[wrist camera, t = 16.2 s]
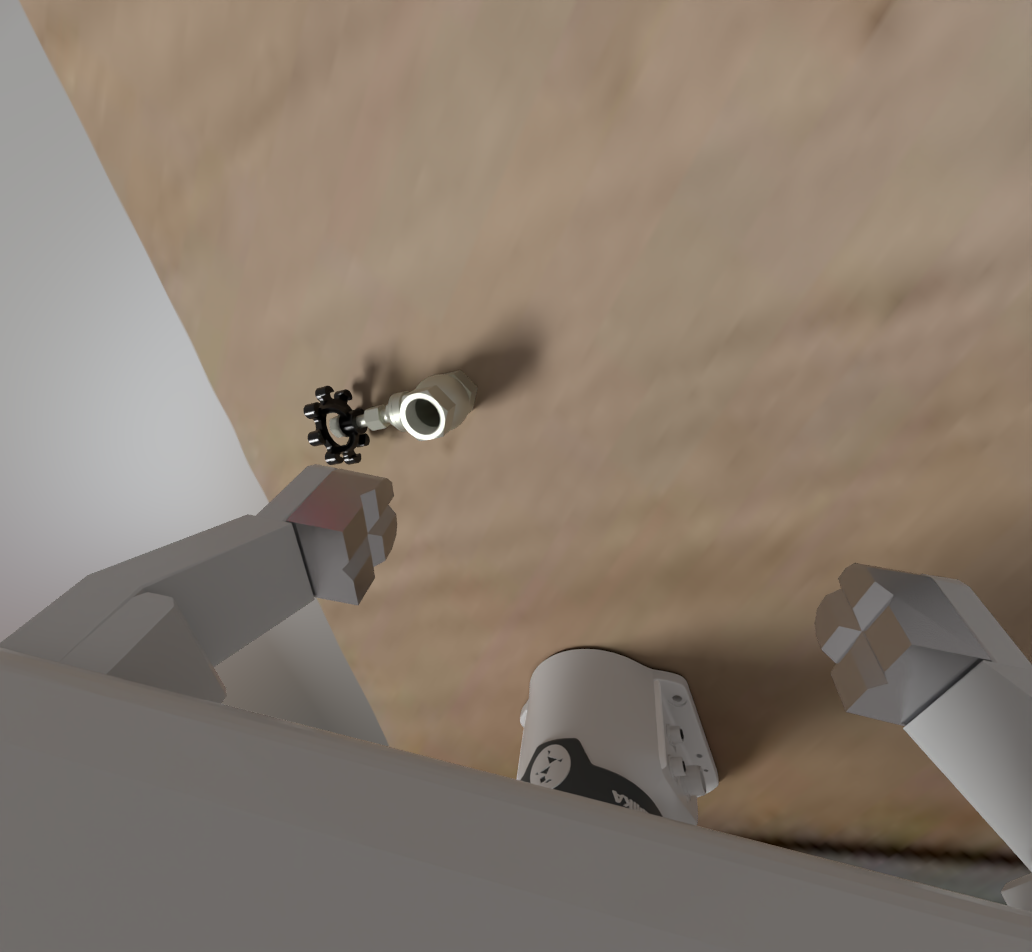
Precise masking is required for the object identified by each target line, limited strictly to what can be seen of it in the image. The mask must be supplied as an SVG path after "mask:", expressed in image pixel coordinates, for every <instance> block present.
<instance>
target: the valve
mask: <svg viewBox="0 0 1032 952" xmlns="http://www.w3.org/2000/svg"><path fill="white" fill-rule="evenodd" d="M331 392H334V390H333V389H332V387H330V386H324V387H321V388H317V389H316V391H315V395H316V398H317V399H318V400H319V401H320V403H318V402H315V403H311V404H307V405H305V407H304V414H305V416H306V417H307V418H309V419H313V420H314V421H315V424H316V430H315V431H313V432H310V433H309V434H308V441H309V443H310V444H311V445H312V446H319V445H325V446H326V448H327V452H326V454H325V460H326V462H327V463H328V464H329V465H335V464H340V463H342V462H343V461H345V463H346V464H349V465H350V464H355V463H359V462H360V461H361V454H360V453H359V454H356V453H355V452H354V449H355V448H356V447H363V446H367V445H369V442H370V439H369V436H368V435H367V434H366V433H365V432H366V431H367V428H368V427H369V428H370V429H371V430H372V431H374V430H379V429H383V428H386V427H388V426H389V425H391V424H392V425H393V426H395V427H396V428H397V429H398V430H399V431H402V432H405V431H408V432H409V433H410V434H411V435H412V436H413V437H415V438H416V439H417V440H419V441H424V440H430V439H435V438H439V437H443V436H444V435H445V434H446V433H448V432H449V431H450V430H453V429H455V428H456V427H458V426H459V425H460V424H461V423H462V422H463V421H464V420H465V418H466V416H467V415H468V414H469V413H470V412H471V411H472V410H473V407H474V403H475V398H476V393H477V386H476V385H475V384H474V383H473V382H472V381H471V380H470V379H469V378H468V377H467V376H466V375H465V374H464V373H463V372H462V371H461V370H458V371H453V372H449V373H445V374H441V375H433V376H430V377H428V378H426V379H424V380H423V381H422V382H420V383H419V385H418V386H417V387H416V389H415V390H412V391H411V392H408V391H403V392H399V393H395V394H393V395H391V397H390V398H389V402H388V405H386V406H385V405H384V404H383V405H379V406H375V407H371V408H368V409H367V410H365V411H364V410H362V409H357V410H352V409H351V408H350V406H349V405H348V404H347V402H348V400H352V394H351V392H350V391H349V390H347V389H345V390H341V391H337V392H335V394H334V399H332V398H331V396H330V393H331ZM328 413H337V414H339V415H338V416H335V417H333V418H331V419H330V430H331V432H332V433H333V434H334V435H335V436H336V437H338V438H339V437H343V436H345V437H349V440H348V442H347V444H346V445H342V446H340V445H338V444H337V443H336V442H335V441H334V440H333V439H332V438H331V436H330V434H329V432H328V429H327V426H326V416H327V414H328ZM364 433H365V434H364ZM340 454H343V458H342V457H340Z"/></svg>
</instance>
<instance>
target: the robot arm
mask: <svg viewBox="0 0 1032 952" xmlns="http://www.w3.org/2000/svg"><path fill="white" fill-rule="evenodd" d="M393 497H394V493H393V486H392V482H391V481H390V480H389V479H387V478H383V477H378V476H373V475H368V474H364V473H359V472H354V471H349V470H344V469H337V468H332V467H327V466H322V465H317V464H314V465H310V466H307V467H306V468H305V469H304V470H303V471H302V472H301V473H300V474H299V475H298V476H297V477H296V478H295V479H294V480H293V481H292V482H291V483H289V484H288V485H287V486H286V487H285V488H284V489H283V490H282V491H281V492H280V493H279V494H278V495H277V496H276V497H275V498H274V499H273V500H272V501H271V502H270V503H269V504H268V505H267V506H266V507H264V508H263V510H261V511H260V512H259V513H258V514H257V515H256V516H253V515H245V516H242V517H240V518H237V519H234V520H232V521H229V522H227V523H224V524H221V525H219V526H216V527H214V528H211V529H208V530H206V531H203V532H200V533H198V534H195V535H193V536H190V537H187V538H185V539H182V540H179V541H177V542H174V543H171V544H169V545H166V546H164V547H161V548H158V549H156V550H153V551H150V552H148V553H145V554H142V555H140V556H137V557H135V558H132V559H129V560H127V561H124V562H121V563H119V564H117V565H114V566H111V567H108V568H106V569H103V570H101V571H98V572H95V573H92V574H90V575H88V576H86V577H85V578H84V579H82V580H81V581H80V582H78V583H77V584H76V585H75V586H73V587H72V588H71V589H69V591H67V592H66V593H64V594H63V595H62V596H60V597H59V598H58V599H56V600H55V601H54V602H53V603H51V604H50V605H49V606H47V607H46V608H45V609H44V610H42V611H41V612H40V613H38V614H37V615H36V616H35V617H33V618H32V619H31V620H29V621H28V622H27V623H26V624H24V625H23V626H22V627H20V628H19V629H18V630H16V631H15V632H14V633H13V634H11V635H10V636H9V637H7V638H6V639H5V640H4V641H2V642H1V643H0V952H1032V873H1031V874H1028V875H1026V876H1023V877H1021V878H1018V879H1016V880H1014V881H1011V882H1009V883H1006V885H1005V886H1004V888H1003V890H1002V891H1001V893H1002V895H1003V897H1004V899H1005V901H1006V903H1007V905H1008V906H1007V905H1003V904H999V903H995V902H991V901H987V900H984V899H980V898H976V897H972V896H968V895H964V894H960V893H956V892H952V891H948V890H945V889H941V888H937V887H933V886H929V885H925V884H921V883H917V882H913V881H910V880H906V879H902V878H898V877H894V876H890V875H886V874H882V873H878V872H875V871H871V870H867V869H863V868H859V867H855V866H851V865H847V864H843V863H839V862H836V861H832V860H828V859H824V858H820V857H816V856H812V855H808V854H804V853H801V852H797V851H793V850H789V849H785V848H781V847H777V846H773V845H769V844H765V843H762V842H758V841H754V840H750V839H746V838H742V837H738V836H734V835H730V834H727V833H723V832H719V831H715V830H711V829H707V828H703V827H699V826H696V825H697V823H698V806H697V797H700V796H702V795H705V794H707V793H709V792H710V791H712V790H713V789H714V788H716V787H717V786H718V783H719V782H718V772H717V769H716V766H715V763H714V760H713V757H712V754H711V751H710V748H709V745H708V742H707V739H706V736H705V733H704V731H703V728H702V725H701V722H700V719H699V716H698V713H697V710H696V707H695V704H694V701H693V698H692V695H691V692H690V689H689V686H688V684H687V681H686V680H685V679H684V678H683V677H682V676H680V675H677V674H674V673H670V672H665V671H660V670H654V669H651V668H648V667H646V666H643V665H641V664H639V663H637V662H635V661H633V660H631V659H629V658H627V657H624V656H622V655H619V654H616V653H612V652H608V651H603V650H595V649H576V650H569V651H564V652H561V653H558V654H555V655H553V656H551V657H549V658H548V659H546V660H545V661H543V662H542V663H541V664H540V665H539V666H538V667H537V668H536V670H535V671H534V673H533V675H532V677H531V681H530V691H529V700H528V701H527V702H526V704H525V705H524V707H523V708H522V710H521V716H520V723H521V725H522V726H523V727H524V731H523V738H522V745H521V752H520V759H519V766H518V773H517V780H516V779H512V778H509V777H505V776H501V775H497V774H493V773H489V772H485V771H481V770H477V769H474V768H470V767H466V766H462V765H458V764H454V763H450V762H446V761H442V760H438V759H434V758H431V757H427V756H423V755H419V754H415V753H411V752H407V751H403V750H399V749H395V748H392V747H388V746H384V745H380V744H375V743H372V742H368V741H364V740H360V739H356V738H352V737H348V736H345V735H341V734H337V733H333V732H329V731H325V730H321V729H317V728H313V727H310V726H306V725H302V724H298V723H294V722H290V721H286V720H282V719H278V718H274V717H271V716H267V715H263V714H259V713H255V712H251V711H247V710H243V709H239V708H235V707H231V706H228V705H223V704H221V703H222V702H223V700H224V699H225V698H226V688H225V686H224V684H223V683H222V681H221V679H220V678H219V676H218V674H217V672H216V671H215V669H214V667H215V666H216V665H218V664H219V663H221V662H222V661H224V660H225V659H227V658H228V657H230V656H231V655H233V654H234V653H236V652H237V651H239V650H240V649H242V648H243V647H245V646H246V645H248V644H249V643H250V642H252V641H254V640H255V639H257V638H258V637H260V636H261V635H262V634H264V633H265V632H267V631H268V630H270V629H271V628H273V627H274V626H276V625H277V624H279V623H280V622H282V621H283V620H285V619H286V618H288V617H289V616H291V615H292V614H294V613H295V612H297V611H298V610H300V609H301V608H303V607H304V606H306V605H307V604H309V603H310V602H312V601H313V600H314V597H317V598H322V599H327V600H333V601H338V602H343V603H348V604H354V605H359V603H360V602H361V600H362V599H363V597H364V595H365V594H366V592H367V590H368V589H369V587H370V585H371V584H372V582H373V580H374V579H375V575H374V568H373V567H374V566H376V565H378V564H380V563H382V562H383V561H385V560H386V559H387V557H388V555H389V553H390V552H391V550H392V547H393V544H394V541H395V537H396V531H397V518H396V513H395V512H394V511H393V510H392V508H391V507H390V506H389V505H388V504H389V503H390V501H391V500H392V498H393ZM838 580H839V583H840V586H841V589H839V590H837V591H835V592H833V593H830V594H828V595H826V596H825V597H824V599H823V600H822V602H821V603H820V605H819V607H818V608H817V613H816V619H815V630H816V637H817V639H818V642H819V645H820V648H821V650H822V651H824V652H825V653H826V654H827V655H828V656H829V657H830V658H831V659H832V660H833V661H834V662H835V665H834V667H833V669H832V671H831V676H832V678H833V681H834V683H835V686H836V688H837V691H838V693H839V696H840V698H841V701H842V703H843V706H844V708H845V711H846V712H849V713H853V714H857V715H861V716H865V717H870V718H874V719H878V720H882V721H886V722H890V723H894V724H898V725H902V726H905V727H904V728H903V729H904V730H905V731H906V732H907V733H908V734H909V736H910V737H911V738H912V739H913V740H914V741H915V742H916V743H917V744H918V746H919V747H920V748H921V749H922V750H923V751H924V752H925V753H926V755H927V756H928V757H929V758H930V759H931V760H932V761H933V762H934V763H935V765H936V766H937V767H938V768H939V769H940V770H941V771H942V772H943V773H944V775H945V776H946V777H947V778H948V779H949V780H950V781H951V782H952V784H953V785H954V786H955V787H956V788H957V789H958V790H959V791H960V792H961V794H962V795H963V796H964V797H965V798H966V799H967V800H968V801H969V802H970V804H971V805H972V806H973V807H974V808H975V809H976V810H977V811H978V813H979V814H980V815H981V816H982V817H983V818H984V819H985V820H986V821H987V823H988V824H989V825H990V826H991V827H992V828H993V829H994V830H995V832H996V833H997V834H998V835H999V836H1000V837H1001V838H1002V839H1003V840H1004V842H1005V843H1006V844H1007V845H1008V846H1009V847H1010V848H1011V849H1012V850H1013V852H1014V853H1015V854H1016V855H1017V856H1018V857H1019V858H1020V859H1021V861H1022V862H1023V863H1024V864H1025V865H1026V866H1027V867H1028V868H1029V869H1030V871H1031V872H1032V664H1031V663H1030V662H1029V661H1028V659H1027V658H1026V657H1025V656H1024V654H1023V653H1022V652H1021V651H1020V649H1019V648H1018V647H1017V646H1016V644H1015V643H1014V642H1013V641H1012V639H1011V638H1010V637H1009V636H1008V634H1007V633H1006V632H1005V631H1004V629H1003V628H1002V627H1001V626H1000V624H999V623H998V622H997V621H996V619H995V618H994V617H993V616H992V614H991V613H990V612H989V611H988V609H987V608H986V607H985V606H984V604H983V603H982V602H981V601H980V599H979V598H978V597H977V596H976V594H975V593H974V592H973V591H972V589H971V588H970V587H969V586H967V585H966V584H964V583H963V582H961V581H959V580H958V579H951V578H945V577H939V576H933V575H926V574H916V573H910V572H905V571H899V570H893V569H887V568H882V567H876V566H870V565H864V564H859V563H853V564H852V565H850V566H848V567H846V568H845V570H844V571H843V572H842V574H841V575H840V576H839V578H838Z"/></svg>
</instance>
